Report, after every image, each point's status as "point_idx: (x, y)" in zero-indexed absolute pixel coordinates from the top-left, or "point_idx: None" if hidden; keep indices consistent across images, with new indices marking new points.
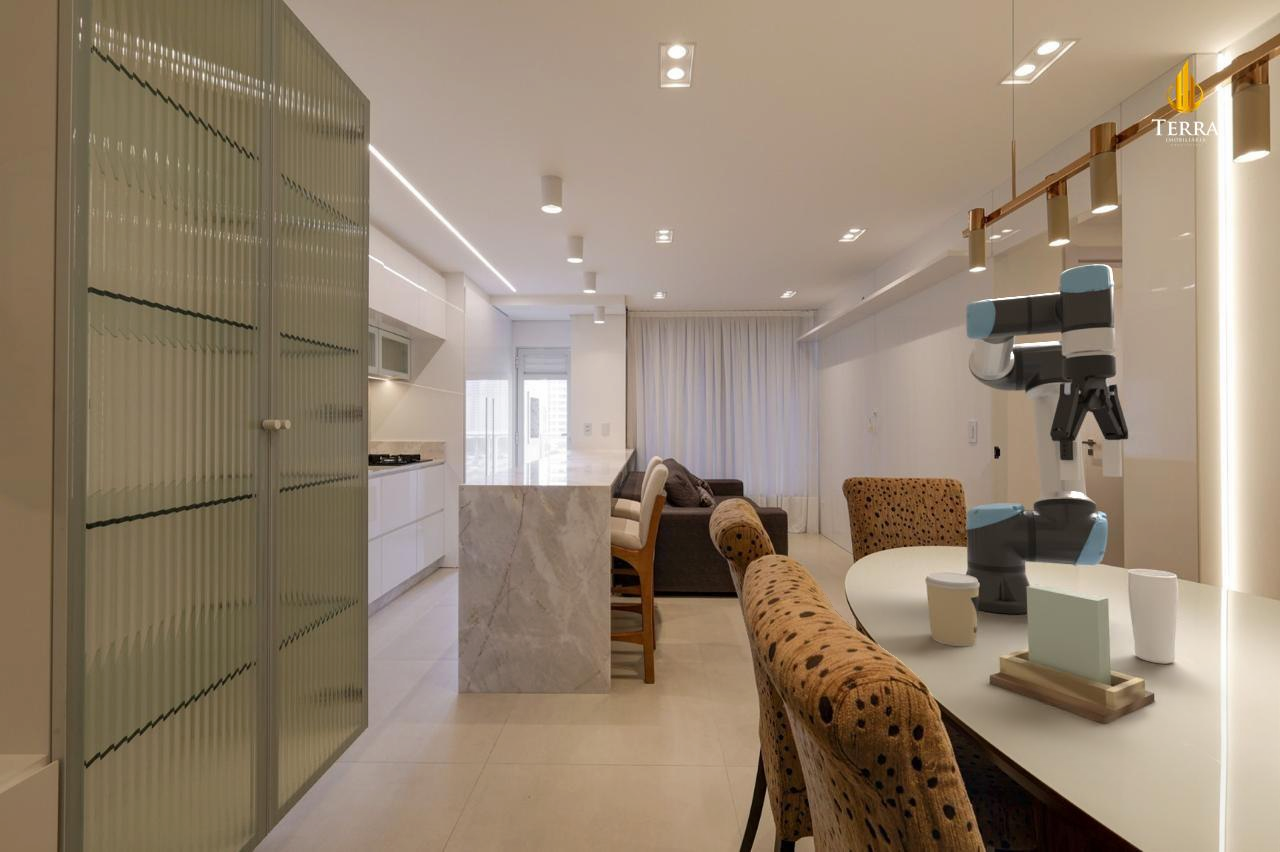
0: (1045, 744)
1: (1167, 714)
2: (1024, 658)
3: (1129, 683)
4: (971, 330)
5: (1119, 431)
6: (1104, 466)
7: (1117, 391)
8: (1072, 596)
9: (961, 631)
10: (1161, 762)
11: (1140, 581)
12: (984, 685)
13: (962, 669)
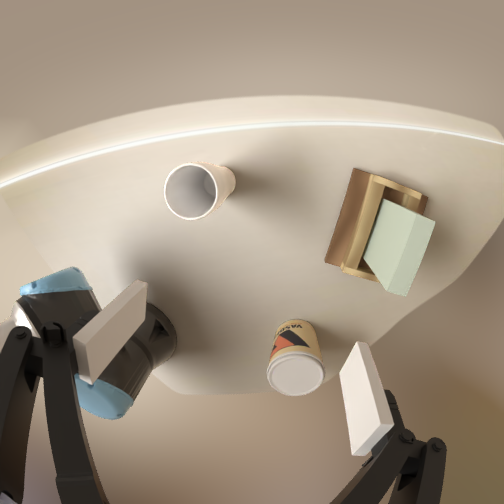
0: (471, 223)
1: (376, 158)
2: (363, 270)
3: (393, 184)
4: None
5: (56, 360)
6: (132, 329)
7: None
8: (426, 247)
9: (314, 333)
10: (457, 163)
11: (219, 199)
12: None
13: (375, 305)
